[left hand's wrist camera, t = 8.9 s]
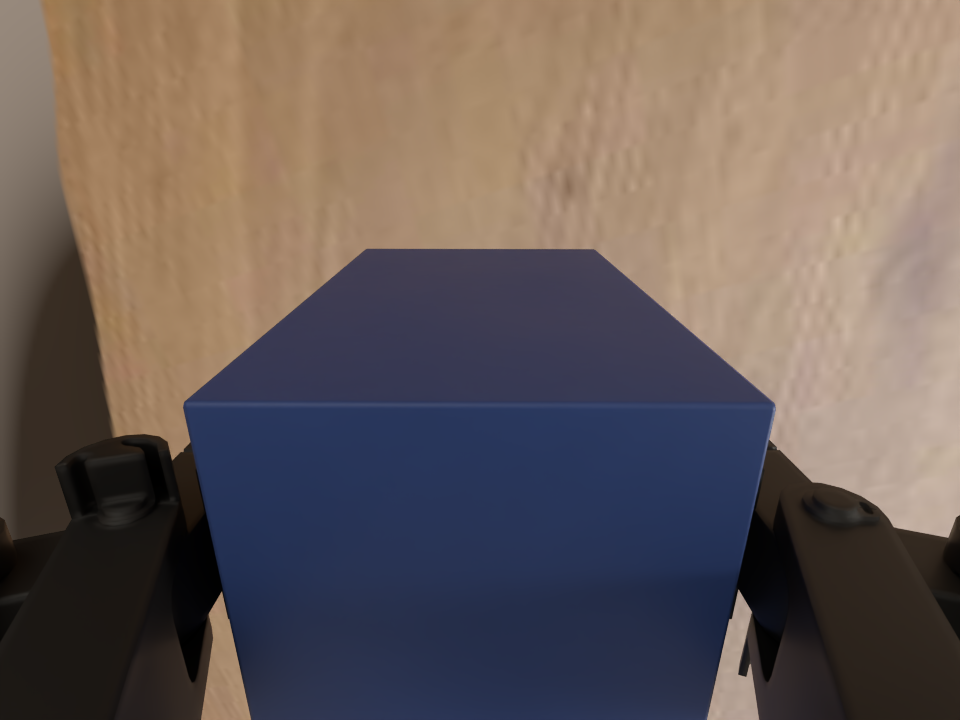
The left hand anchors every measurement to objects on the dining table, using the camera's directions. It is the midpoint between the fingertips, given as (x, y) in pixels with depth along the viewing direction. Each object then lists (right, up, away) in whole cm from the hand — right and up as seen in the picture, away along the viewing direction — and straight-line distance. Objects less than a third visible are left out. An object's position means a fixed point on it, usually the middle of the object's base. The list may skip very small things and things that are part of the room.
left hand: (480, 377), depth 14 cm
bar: (0, -8, +4) cm, 9 cm away
